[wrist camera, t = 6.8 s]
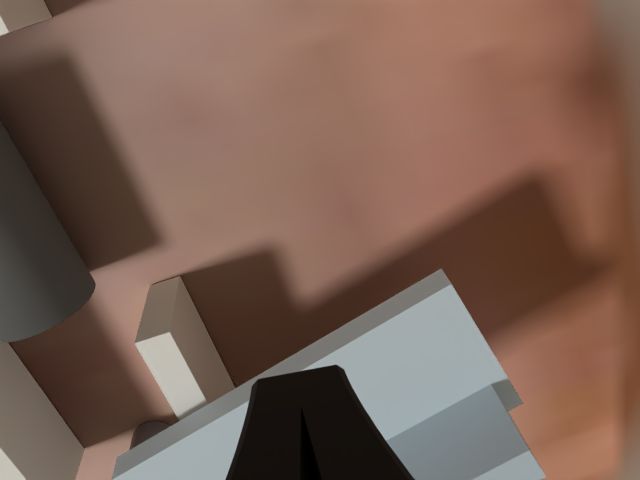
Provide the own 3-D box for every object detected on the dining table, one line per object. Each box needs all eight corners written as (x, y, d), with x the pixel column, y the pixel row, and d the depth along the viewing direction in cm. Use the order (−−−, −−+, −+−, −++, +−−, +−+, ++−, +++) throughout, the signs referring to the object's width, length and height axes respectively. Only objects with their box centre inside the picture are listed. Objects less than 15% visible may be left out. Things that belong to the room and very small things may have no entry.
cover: (219, 542, 19) (216, 646, 16) (117, 457, 16) (91, 561, 14) (511, 384, 17) (565, 469, 14) (441, 268, 15) (488, 341, 12)
